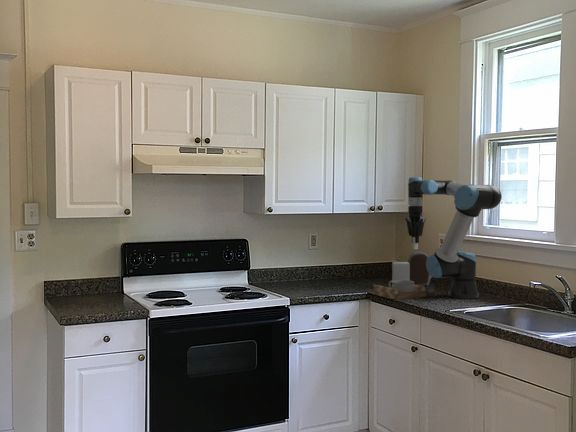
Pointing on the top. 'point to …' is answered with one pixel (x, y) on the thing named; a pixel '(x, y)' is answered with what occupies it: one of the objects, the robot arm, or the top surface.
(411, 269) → the dark brown rounded block
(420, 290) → the bay
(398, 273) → the supplement box
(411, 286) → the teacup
